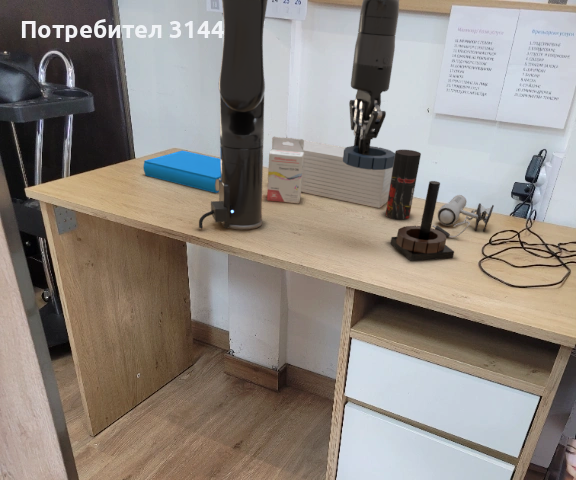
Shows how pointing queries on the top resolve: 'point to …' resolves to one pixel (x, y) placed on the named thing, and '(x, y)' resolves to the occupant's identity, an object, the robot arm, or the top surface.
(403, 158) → the deodorant
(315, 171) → the light grey ridged block
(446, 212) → the clip-on lamp
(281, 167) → the ink cartridge box
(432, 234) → the walnut ring
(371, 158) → the slate ring
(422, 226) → the stand
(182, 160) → the book
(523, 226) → the top surface
